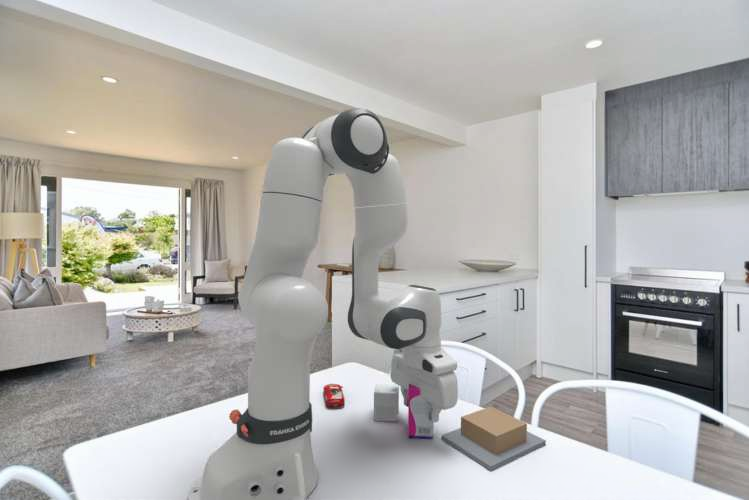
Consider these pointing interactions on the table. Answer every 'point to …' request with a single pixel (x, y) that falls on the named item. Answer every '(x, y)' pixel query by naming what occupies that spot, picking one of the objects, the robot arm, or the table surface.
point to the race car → (333, 396)
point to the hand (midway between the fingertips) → (420, 413)
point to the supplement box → (419, 415)
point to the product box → (386, 402)
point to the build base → (486, 454)
